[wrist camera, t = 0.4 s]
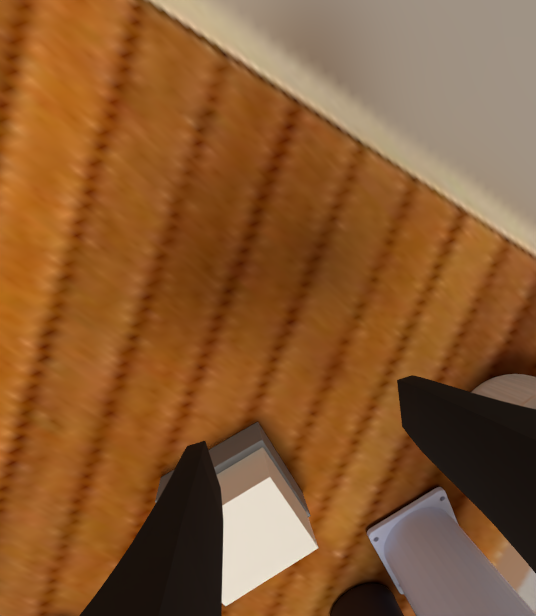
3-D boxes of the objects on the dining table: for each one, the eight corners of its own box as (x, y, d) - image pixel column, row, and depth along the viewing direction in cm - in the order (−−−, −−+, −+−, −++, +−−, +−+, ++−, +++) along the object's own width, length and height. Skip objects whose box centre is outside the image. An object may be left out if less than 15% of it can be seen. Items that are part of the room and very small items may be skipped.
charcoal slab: (300, 487, 23) (310, 515, 21) (216, 537, 23) (216, 572, 20) (256, 417, 21) (262, 439, 18) (162, 471, 20) (155, 501, 18)
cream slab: (306, 512, 21) (318, 547, 18) (224, 563, 20) (225, 606, 18) (262, 447, 19) (269, 476, 16) (171, 501, 18) (164, 540, 16)
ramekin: (465, 352, 23) (537, 383, 17) (563, 369, 25) (651, 401, 20) (422, 469, 24) (476, 527, 19) (517, 474, 27) (586, 527, 22)
